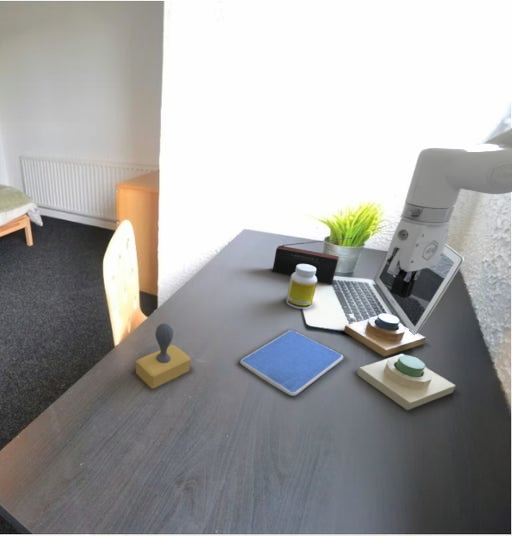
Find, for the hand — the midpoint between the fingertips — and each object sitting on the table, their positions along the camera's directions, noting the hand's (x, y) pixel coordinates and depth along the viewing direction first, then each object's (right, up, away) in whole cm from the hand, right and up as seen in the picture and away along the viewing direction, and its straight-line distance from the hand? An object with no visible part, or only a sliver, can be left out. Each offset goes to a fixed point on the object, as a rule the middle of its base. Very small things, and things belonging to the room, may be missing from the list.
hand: (399, 294), depth 81 cm
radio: (-3, +2, +33) cm, 33 cm away
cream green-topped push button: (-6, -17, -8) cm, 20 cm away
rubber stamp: (-52, -16, -3) cm, 54 cm away
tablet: (-24, -15, -1) cm, 28 cm away
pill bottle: (-12, -4, +20) cm, 24 cm away
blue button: (0, -7, +4) cm, 8 cm away
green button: (-6, -14, -9) cm, 18 cm away
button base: (0, -11, +5) cm, 12 cm away
